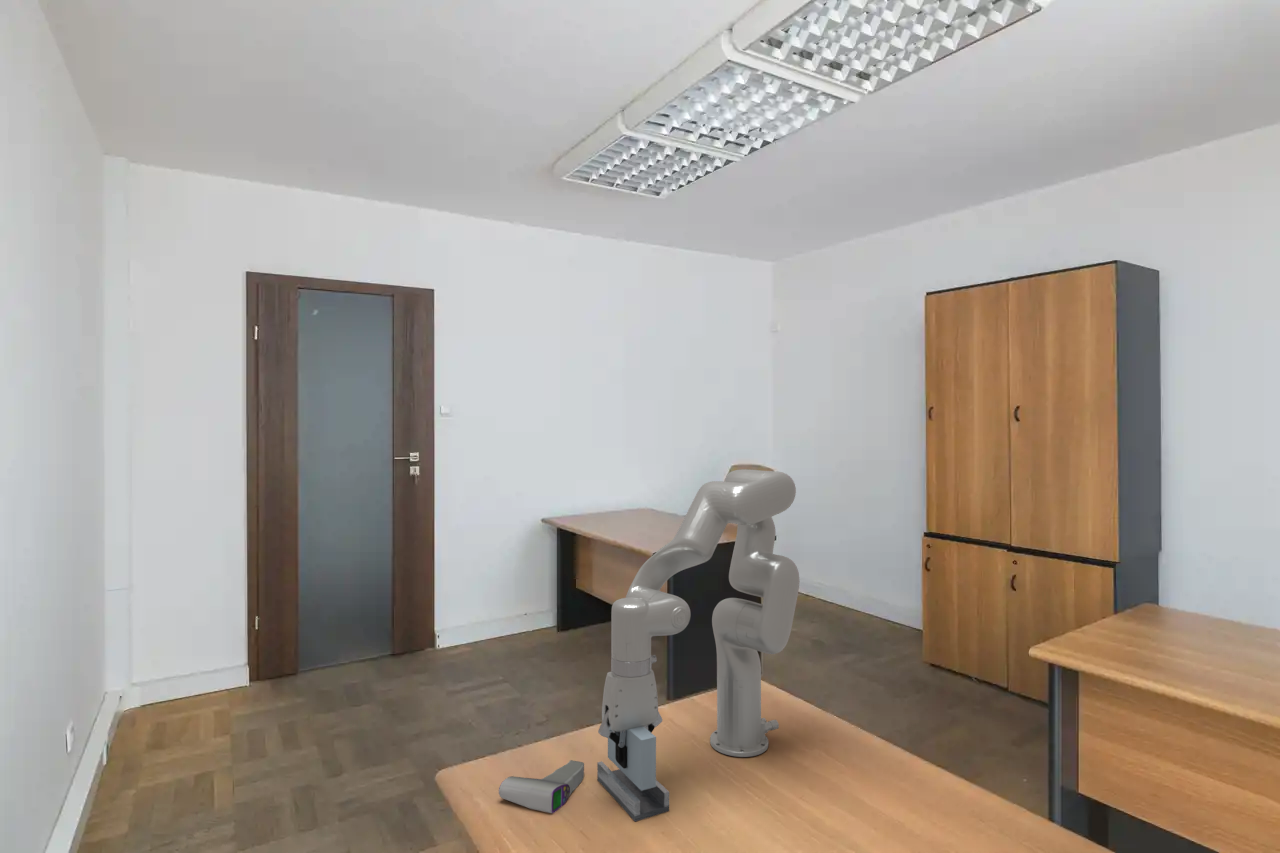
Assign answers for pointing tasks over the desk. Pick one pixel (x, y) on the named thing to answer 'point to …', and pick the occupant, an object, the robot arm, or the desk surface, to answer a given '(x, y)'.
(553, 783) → the infrared thermometer
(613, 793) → the track
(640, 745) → the grey slab
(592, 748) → the desk surface
